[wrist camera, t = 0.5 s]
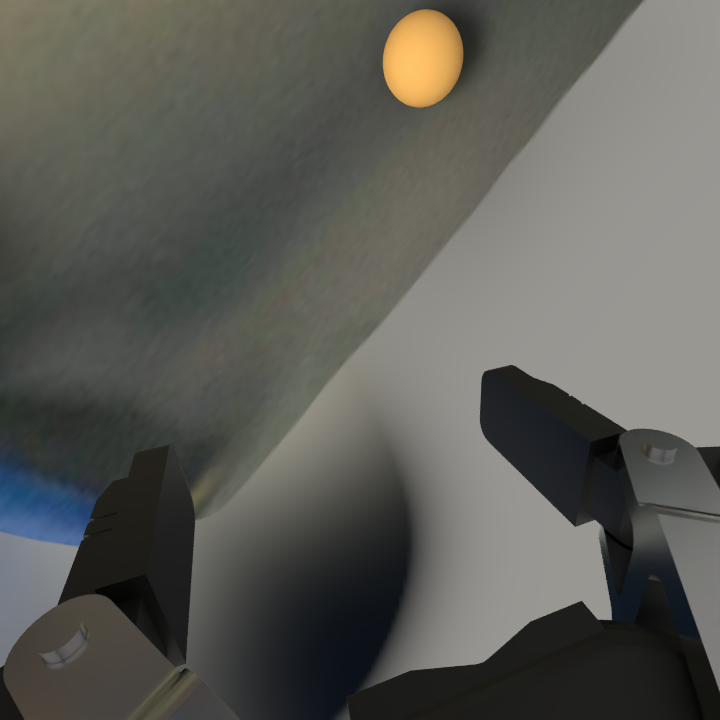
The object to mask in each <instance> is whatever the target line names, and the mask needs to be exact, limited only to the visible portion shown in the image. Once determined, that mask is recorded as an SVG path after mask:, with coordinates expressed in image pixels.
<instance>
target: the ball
mask: <svg viewBox="0 0 720 720" xmlns="http://www.w3.org/2000/svg"><path fill="white" fill-rule="evenodd" d="M462 63H463V45H462V40H461V37H460V34H459V31H458V29H457V28H456V26H455V25H454V23H453V22H452V21H451V20H450V19H449V18H448V17H447V16H446V15H444V14H442V13H441V12H438V11H435V10H429V9H424V10H418V11H415V12H412V13H410V14H408V15H407V16H405V17H404V18H403V19H401V20H400V21H399V22H398V23H397V25H396V26H395V27H394V29H393V30H392V32H391V33H390V35H389V37H388V40H387V42H386V45H385V49H384V54H383V71H384V76H385V79H386V82H387V85H388V87H389V89H390V90H391V92H392V93H393V94H394V96H395V97H396V98H397V99H399V100H400V101H401V102H403V103H404V104H406V105H409V106H413V107H426V106H430V105H433V104H435V103H437V102H439V101H440V100H442V99H443V98H444V97H445V96H446V95H447V94H448V93H449V92H450V91H451V90H452V88H453V87H454V85H455V84H456V82H457V80H458V78H459V75H460V72H461V68H462Z"/></svg>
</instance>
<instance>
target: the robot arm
mask: <svg viewBox="0 0 720 720" xmlns="http://www.w3.org/2000/svg"><path fill="white" fill-rule="evenodd" d="M480 424H481V429H482V432H483V434H484V436H485V438H486V439H487V440H488V441H489V443H490V444H491V445H492V446H493V447H494V448H495V449H497V450H498V451H499V452H500V453H501V454H502V455H503V456H504V457H505V458H506V459H507V460H508V461H509V462H510V463H511V464H512V465H513V466H514V467H515V468H516V469H517V470H518V471H519V472H520V473H521V474H522V475H523V476H524V477H525V478H526V479H527V480H528V481H529V482H530V483H531V484H532V485H533V486H534V487H535V488H536V489H537V490H538V491H539V492H540V493H541V494H542V495H543V496H544V497H545V498H547V500H548V501H549V502H550V503H551V504H552V505H553V506H554V507H556V508H557V509H558V510H559V511H560V512H561V513H562V514H563V515H564V516H565V517H566V518H567V519H568V520H569V521H570V522H571V523H572V524H573V525H574V526H575V527H576V526H579V525H582V524H584V523H587V522H590V521H593V520H596V521H597V522H598V523H599V524H601V525H600V530H599V542H600V547H601V553H602V559H603V564H604V570H605V575H606V580H607V587H608V592H609V597H610V603H611V611H612V620H598V619H597V618H596V617H595V616H594V615H593V614H592V612H591V611H590V610H589V609H588V608H587V607H586V605H585V604H584V603H583V602H582V601H581V602H578V603H575V604H573V605H570V606H568V607H566V608H563V609H561V610H558V611H556V612H553V613H551V614H548V615H546V616H543V617H541V618H539V619H536V620H534V621H531V622H529V624H527V625H526V626H525V627H524V628H523V629H522V630H520V631H519V632H518V633H517V634H516V635H515V636H514V637H512V638H511V639H510V640H509V641H508V642H507V643H506V644H505V645H503V646H502V647H501V648H500V649H499V650H498V651H497V652H496V653H494V654H493V655H492V656H491V657H490V658H489V659H487V660H486V661H485V662H483V663H480V664H476V665H466V666H455V667H444V668H434V669H423V670H413V671H409V672H406V673H404V674H401V675H399V676H396V677H394V678H392V679H389V680H387V681H385V682H382V683H380V684H377V685H375V686H372V687H370V688H367V689H365V690H362V691H360V692H357V693H355V694H352V695H350V696H348V697H346V699H347V704H348V710H349V715H350V720H720V447H697V448H695V447H694V446H693V445H691V444H690V443H689V442H687V441H685V440H683V439H681V438H680V437H677V436H675V435H672V434H670V433H666V432H663V431H658V430H653V429H633V430H629V431H627V430H626V429H624V428H622V427H621V426H619V425H618V424H616V423H614V422H613V421H611V420H610V419H608V418H606V417H605V416H603V415H602V414H600V413H598V412H597V411H595V410H593V409H592V408H590V407H589V406H587V405H585V404H582V403H581V402H580V401H579V400H577V399H576V398H574V397H573V396H569V394H568V393H566V392H564V391H563V390H561V389H559V388H558V387H556V386H555V385H553V384H550V383H547V382H544V381H541V380H538V379H535V378H533V377H531V376H530V375H528V374H526V373H525V372H523V371H522V370H520V369H519V368H517V367H516V366H513V365H509V366H505V367H501V368H496V369H492V370H488V371H485V372H484V374H483V376H482V383H481V406H480ZM194 529H195V511H194V505H193V500H192V496H191V493H190V490H189V487H188V484H187V481H186V478H185V475H184V472H183V470H182V467H181V464H180V461H179V458H178V455H177V452H176V450H175V448H174V446H173V445H172V444H170V445H166V446H162V447H158V448H153V449H149V450H145V451H141V452H137V453H136V454H135V456H134V459H133V462H132V466H131V469H130V472H129V476H128V478H124V479H120V480H116V481H113V482H112V483H111V485H110V486H109V487H108V488H107V489H106V490H105V491H104V492H103V494H102V495H101V496H100V497H99V498H98V499H97V501H96V504H95V506H94V509H93V512H92V514H91V517H90V523H88V525H87V528H86V530H85V533H84V536H83V537H84V540H82V541H81V544H80V546H79V549H78V552H77V554H76V557H75V560H74V562H73V565H72V568H71V570H70V573H69V576H68V579H67V581H66V584H65V586H64V589H63V592H62V594H61V597H60V600H59V602H58V605H57V606H56V607H54V608H53V609H51V610H50V611H48V612H47V613H45V614H44V615H42V616H41V617H40V618H39V619H38V620H36V621H35V622H34V623H33V624H32V625H31V626H30V627H29V628H28V629H27V630H26V631H25V632H24V633H23V634H22V636H21V637H20V638H19V639H18V641H17V642H16V644H15V645H14V646H13V648H12V650H11V651H10V653H9V655H8V658H7V660H6V663H5V665H4V666H2V667H1V668H0V720H240V719H239V718H238V717H237V716H236V715H235V714H234V713H233V712H232V711H231V710H230V709H229V708H228V706H227V705H226V704H224V702H223V701H222V700H220V698H219V697H218V696H217V695H216V694H215V693H214V692H213V691H212V690H211V689H210V688H209V687H208V686H207V685H206V684H205V683H204V682H203V681H202V680H201V679H200V678H199V677H198V676H197V675H195V674H194V673H193V672H192V671H190V670H188V669H186V668H185V669H184V670H183V671H182V672H180V671H179V670H177V669H176V668H175V667H177V666H180V665H182V664H185V663H186V652H187V636H188V622H189V607H190V592H191V577H192V562H193V547H194V532H195V530H194Z"/></svg>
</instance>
